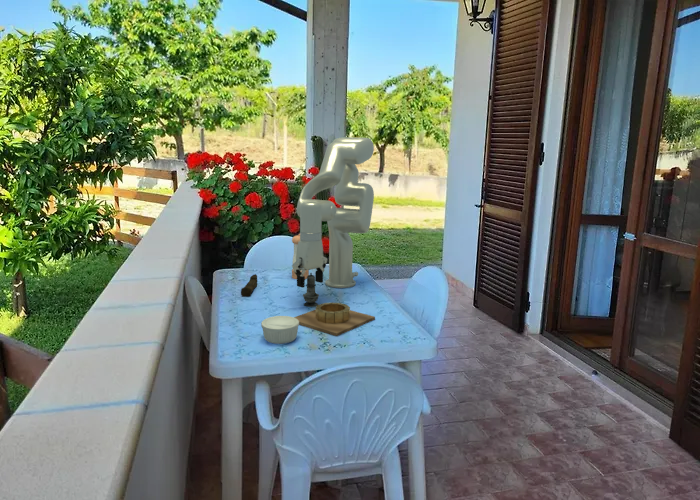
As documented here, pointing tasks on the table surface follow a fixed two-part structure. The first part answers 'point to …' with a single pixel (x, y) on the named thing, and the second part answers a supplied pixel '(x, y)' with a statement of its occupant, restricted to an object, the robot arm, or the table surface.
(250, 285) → the brown long rounded piece
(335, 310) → the wooden ring
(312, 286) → the stone chess piece
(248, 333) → the table surface
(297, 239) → the pepper shaker
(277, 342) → the ramekin
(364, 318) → the wooden board
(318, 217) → the robot arm
